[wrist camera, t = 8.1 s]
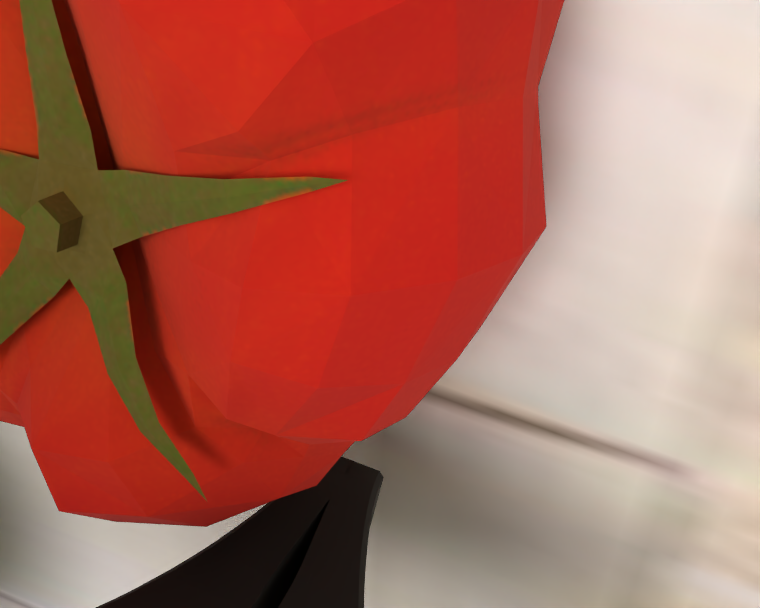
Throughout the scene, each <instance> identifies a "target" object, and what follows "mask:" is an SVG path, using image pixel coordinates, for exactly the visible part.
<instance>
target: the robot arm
mask: <svg viewBox="0 0 760 608" xmlns="http://www.w3.org/2000/svg"><path fill="white" fill-rule="evenodd" d="M382 481H383V476H382V474H381V473H380V471H378V470H375V469H372V468H370V467H367V466H365V465H362V464H359V463H357V462H354V461H352V460H349V459H346V458H344V457H340V458H339V459H338V461H337V462H336V463H335V464H334V465H333V467H332V468H331V469H330V470H329V471H328V473H327V474H326V475H325V476H324V477H323V478H322V480H321V481H320V482H319V483H318V484H317V486H314V487H311V488H308V489H305V490H302V491H299V492H296V493H293V494H290V495H287V496H284V497H281V498H279V499H276V500H273V501H271V502H268V503H267V504H266V505H265V506H263V507H262V508H261V509H260V510H258V511H257V512H256V513H255V514H253V515H252V516H251V517H249V518H248V519H247V520H245V521H244V522H242V523H241V524H240V525H238V526H237V527H235V528H234V529H233V530H231V531H230V532H228V533H227V534H226V535H224V536H223V537H221V538H220V539H219V540H217V541H216V542H214V543H213V544H211V545H210V546H208V547H206V548H205V549H203V550H202V551H200V552H199V553H197V554H196V555H194V556H192V557H191V558H189V559H187V560H186V561H184V562H182V563H181V564H179V565H177V566H176V567H174V568H172V569H171V570H169V571H167V572H165V573H163V574H161V575H160V576H158V577H156V578H154V579H152V580H150V581H149V582H147V583H145V584H143V585H141V586H140V587H138V588H136V589H134V590H132V591H130V592H128V593H126V594H124V595H122V596H120V597H118V598H116V599H113V600H111V601H109V602H107V603H105V604H103V605H100V606H98V607H96V608H364V583H365V566H366V555H367V545H368V536H369V529H370V525H371V521H372V518H373V514H374V510H375V507H376V503H377V499H378V496H379V492H380V488H381V485H382Z"/></svg>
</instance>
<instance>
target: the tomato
mask: <svg viewBox="0 0 760 608" xmlns="http://www.w3.org/2000/svg"><path fill="white" fill-rule="evenodd" d="M563 3H564V0H0V421H3V422H7V423H11V424H15V425H19V426H23V427H25V430H26V433H27V436H28V439H29V443H30V446H31V449H32V451H33V453H34V456H35V458H36V460H37V462H38V465H39V467H40V469H41V471H42V474H43V476H44V478H45V481H46V483H47V485H48V487H49V490H50V492H51V494H52V496H53V499H54V501H55V503H56V505H57V508H58V510H59V511H62V512H67V513H72V514H78V515H83V516H89V517H94V518H99V519H105V520H110V521H116V522H134V523H151V524H169V525H186V526H204V527H206V526H209V525H212V524H214V523H217V522H219V521H222V520H224V519H227V518H230V517H232V516H235V515H237V514H240V513H242V512H245V511H248V510H250V509H253V508H255V507H258V506H261V505H263V504H266V503H268V502H271V501H273V500H276V499H279V498H281V497H284V496H287V495H290V494H293V493H296V492H299V491H302V490H305V489H308V488H311V487H314V486H317V484H318V483H319V482H320V481H321V480H322V478H323V477H324V476H325V475H326V474H327V473H328V471H329V470H330V469H331V468H332V467H333V465H334V464H335V463H336V462H337V461H338V459H339V458H340V457H341V456H342V455H343V453H344V452H345V451H346V450H347V449H348V448H349V447H350V446H351V445H352V444H353V443H354V442H355V441H362V440H364V439H366V438H368V437H370V436H372V435H373V434H375V433H377V432H379V431H381V430H383V429H385V428H387V427H388V426H390V425H392V424H394V423H396V422H398V421H400V420H402V419H403V418H405V417H407V415H408V414H409V413H410V412H411V411H412V410H413V409H414V407H415V406H416V405H417V404H418V403H419V402H420V401H421V399H422V398H423V397H424V396H425V395H426V394H427V393H428V392H429V390H430V389H431V388H432V387H433V386H434V385H435V384H436V382H437V381H438V380H439V379H440V378H441V377H442V376H443V374H444V373H445V372H446V371H447V370H448V369H449V368H450V366H451V365H452V364H453V363H454V362H455V361H456V360H457V358H458V357H459V356H460V354H461V353H462V352H463V350H464V349H465V347H466V346H467V345H468V343H469V342H470V341H471V339H472V338H473V337H474V335H475V334H476V332H477V331H478V330H479V328H480V327H481V325H482V324H483V322H484V321H485V319H486V318H487V316H488V315H489V313H490V312H491V310H492V309H493V307H494V306H495V304H496V303H497V301H498V300H499V298H500V296H501V295H502V293H503V292H504V290H505V289H506V287H507V286H508V284H509V283H510V281H511V280H512V278H513V277H514V275H515V274H516V272H517V270H518V269H519V267H520V266H521V264H522V263H523V261H524V260H525V258H526V257H527V255H528V254H529V252H530V251H531V249H532V248H533V246H534V245H535V243H536V241H537V240H538V238H539V237H540V235H541V234H542V232H543V231H544V229H545V228H546V214H545V199H544V184H543V169H542V154H541V140H540V125H539V110H538V85H539V82H540V78H541V75H542V72H543V69H544V65H545V62H546V59H547V55H548V52H549V49H550V46H551V42H552V39H553V36H554V32H555V29H556V26H557V23H558V19H559V16H560V13H561V9H562V6H563Z"/></svg>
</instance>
